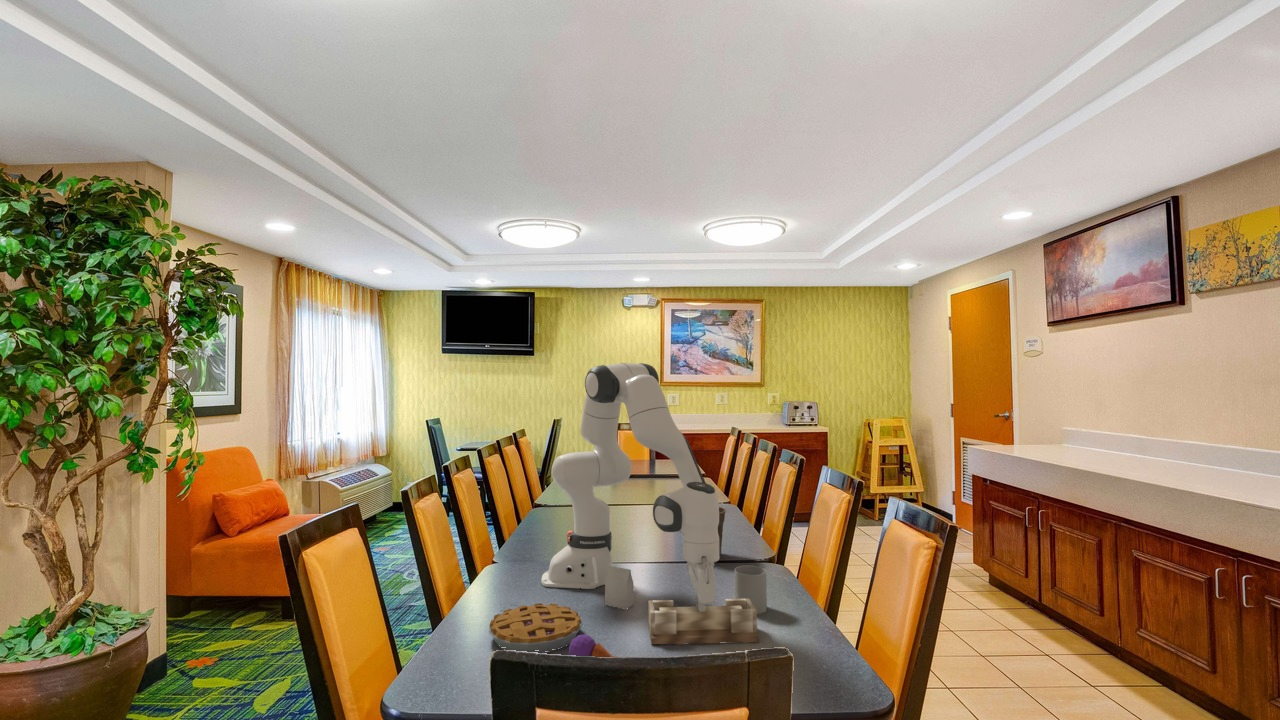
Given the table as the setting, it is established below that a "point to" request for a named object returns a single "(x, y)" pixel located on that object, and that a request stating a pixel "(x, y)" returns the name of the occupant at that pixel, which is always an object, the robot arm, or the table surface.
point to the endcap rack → (665, 630)
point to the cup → (751, 586)
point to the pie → (535, 628)
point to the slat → (702, 617)
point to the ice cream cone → (587, 647)
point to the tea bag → (619, 587)
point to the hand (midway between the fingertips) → (701, 609)
